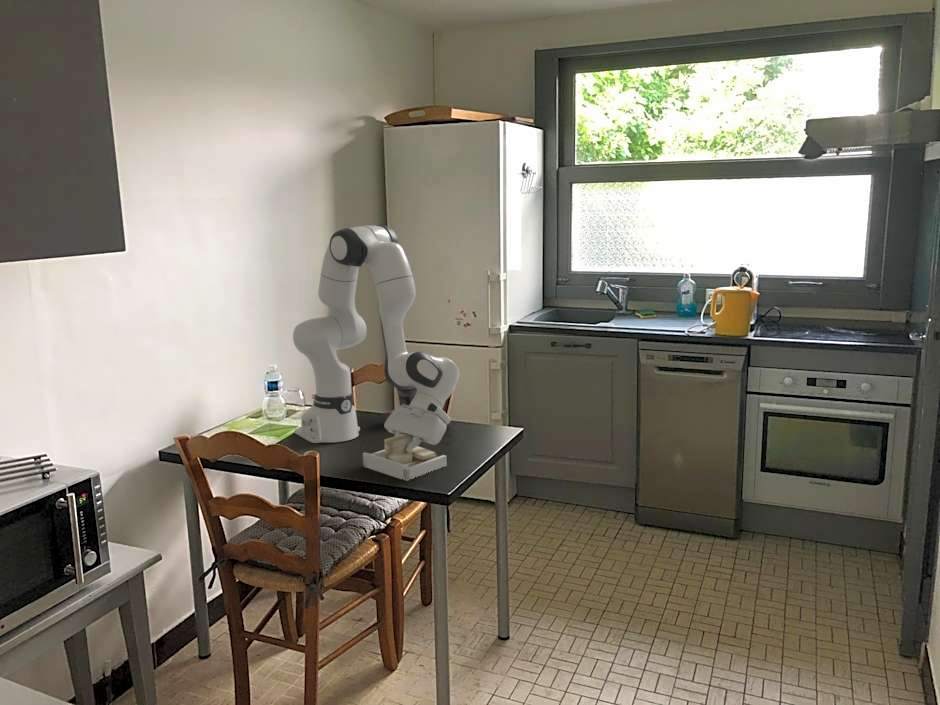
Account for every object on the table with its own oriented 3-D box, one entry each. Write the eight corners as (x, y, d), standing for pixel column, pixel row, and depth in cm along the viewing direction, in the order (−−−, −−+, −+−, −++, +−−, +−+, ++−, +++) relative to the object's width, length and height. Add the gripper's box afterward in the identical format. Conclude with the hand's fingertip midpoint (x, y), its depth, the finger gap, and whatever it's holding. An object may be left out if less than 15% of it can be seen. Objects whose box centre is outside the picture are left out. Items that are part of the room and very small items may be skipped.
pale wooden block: (385, 470, 219) (384, 439, 218) (404, 463, 224) (402, 433, 223) (394, 473, 217) (392, 442, 215) (412, 466, 222) (411, 436, 220)
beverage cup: (421, 417, 271) (419, 361, 267) (416, 423, 264) (415, 365, 260) (400, 417, 272) (398, 361, 268) (395, 423, 264) (393, 365, 260)
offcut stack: (394, 459, 229) (393, 447, 228) (408, 454, 233) (407, 442, 232) (427, 469, 219) (427, 457, 219) (441, 464, 223) (441, 452, 223)
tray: (363, 466, 223) (362, 453, 222) (403, 452, 234) (403, 440, 233) (406, 481, 211) (406, 466, 210) (446, 465, 222) (446, 452, 221)
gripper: (394, 397, 230) (370, 437, 225) (444, 409, 217) (419, 451, 212) (405, 408, 234) (382, 448, 229) (455, 421, 221) (431, 463, 216)
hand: (400, 450), depth 220 cm, fingers closed on pale wooden block, 3 cm apart
